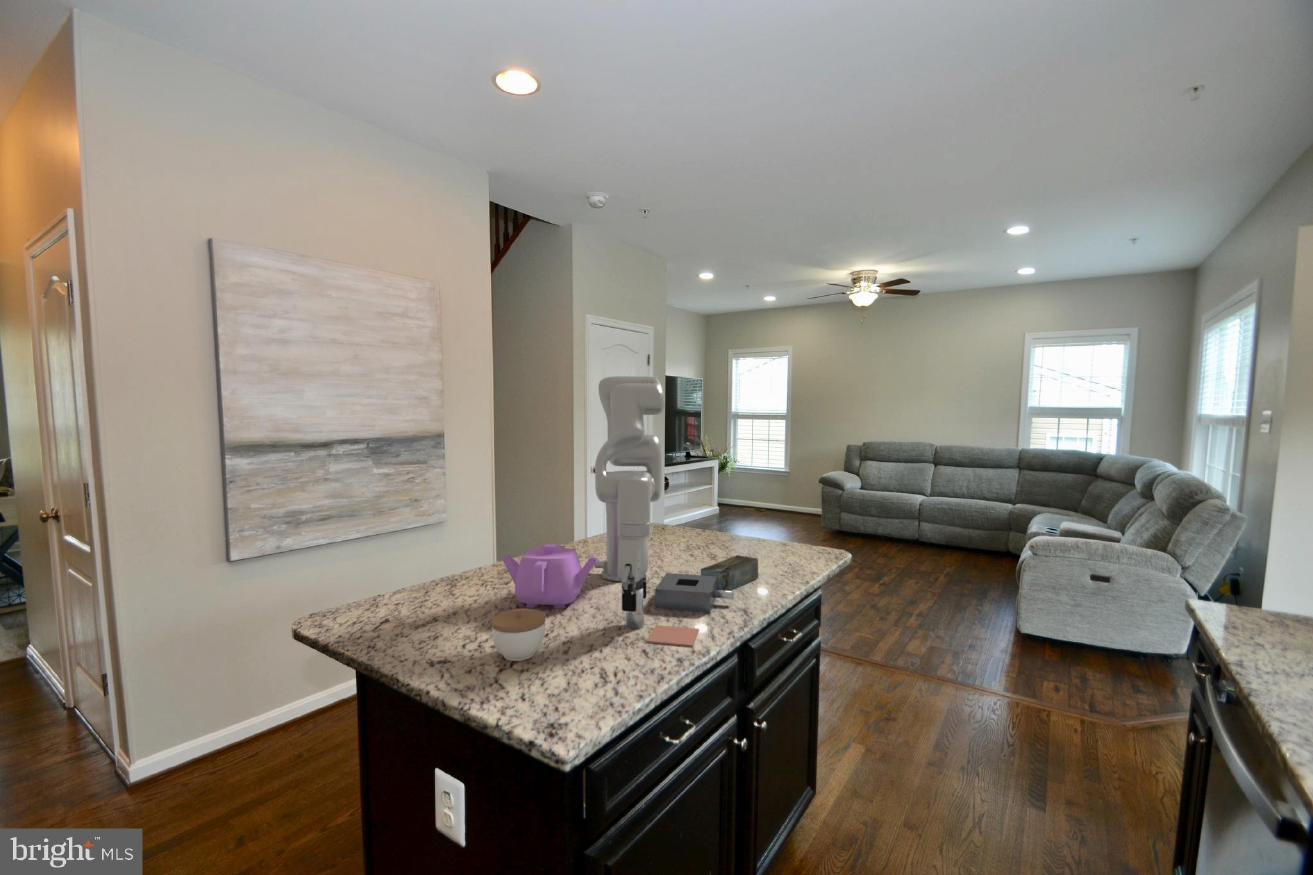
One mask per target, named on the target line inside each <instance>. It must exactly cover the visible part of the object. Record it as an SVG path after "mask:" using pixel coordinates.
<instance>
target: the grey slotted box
mask: <svg viewBox="0 0 1313 875" xmlns="http://www.w3.org/2000/svg"><path fill="white" fill-rule="evenodd" d="M717 599H725V600H726V599H728V600H734V599H735V591H734V590H731V591H724V590H718V576H704V575H701V574H688V573H687V574H686V573H671V572H667V573H665V575H664V576H663V578H662V579H661V580H660V582H659V583H658V584H657V586H656V587H655V588H654V609H657V610H658V609H659V610H668V611H669V610H670V611H671V610H672V611H682V612H683V611H684V612H694V613H708V614H709V613H710V614H711V612H712V610H713V607H714V605H715V602H716V600H717Z"/></svg>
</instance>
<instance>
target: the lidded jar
mask: <svg viewBox="0 0 1313 875" xmlns="http://www.w3.org/2000/svg"><path fill="white" fill-rule="evenodd" d="M490 623H491V629H492V630H491V631H492V632H491V633H492V639H493V644H494V647H495V648H496V650H497V652H498V653H499V654H500V655H502V656H503V658H504V660H507V661H510V662H520V661H525V660H528V659H530V658H532V657H533V656H535V654H536V652H537V651H538V650H539V648H540V647H541V646H542V643H543V641H544V638H545V632H546V631H545V630H546V614H545V613H544V612H543V611H541V610H539V609H535V608H515V609H509V610H505V611H501V612H499V613H497V614H496V615H494V616H493V617H492V618H491V622H490Z"/></svg>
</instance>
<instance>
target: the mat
mask: <svg viewBox="0 0 1313 875" xmlns="http://www.w3.org/2000/svg"><path fill="white" fill-rule="evenodd" d="M699 632H700V628H696V627H695V628H694V627H693V628H692V627H685V626H684V627H682V626H670V625H660V624H656V625H655V626H654V628H653V630H652V631H651V632H650V634H649V636H648V637H647V639H646V643H647V644H648V643H649V644H656V645H657V644H661V645H668V644H670V646H678V645H679V647H689V648H690V647H691V648H692V647H694V644H695V642H696V639H697V636H698V634H699Z"/></svg>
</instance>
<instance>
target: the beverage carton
mask: <svg viewBox="0 0 1313 875" xmlns="http://www.w3.org/2000/svg"><path fill="white" fill-rule="evenodd" d="M700 575H704V576H718V590H724V591H734V590H735V589H737V588H740V587H742V586H744V585H746V584H747V583H750V582H753V581H755V580H758V578H759V558H757V557H751V556H743V555H739V554H737V555H734V556H730V557H729V558H727V559H724V560H721V561H719V562H717V563H714V564H711V565H707V566H705V567H702V568H701V569H700ZM739 586H740V587H739Z"/></svg>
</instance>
